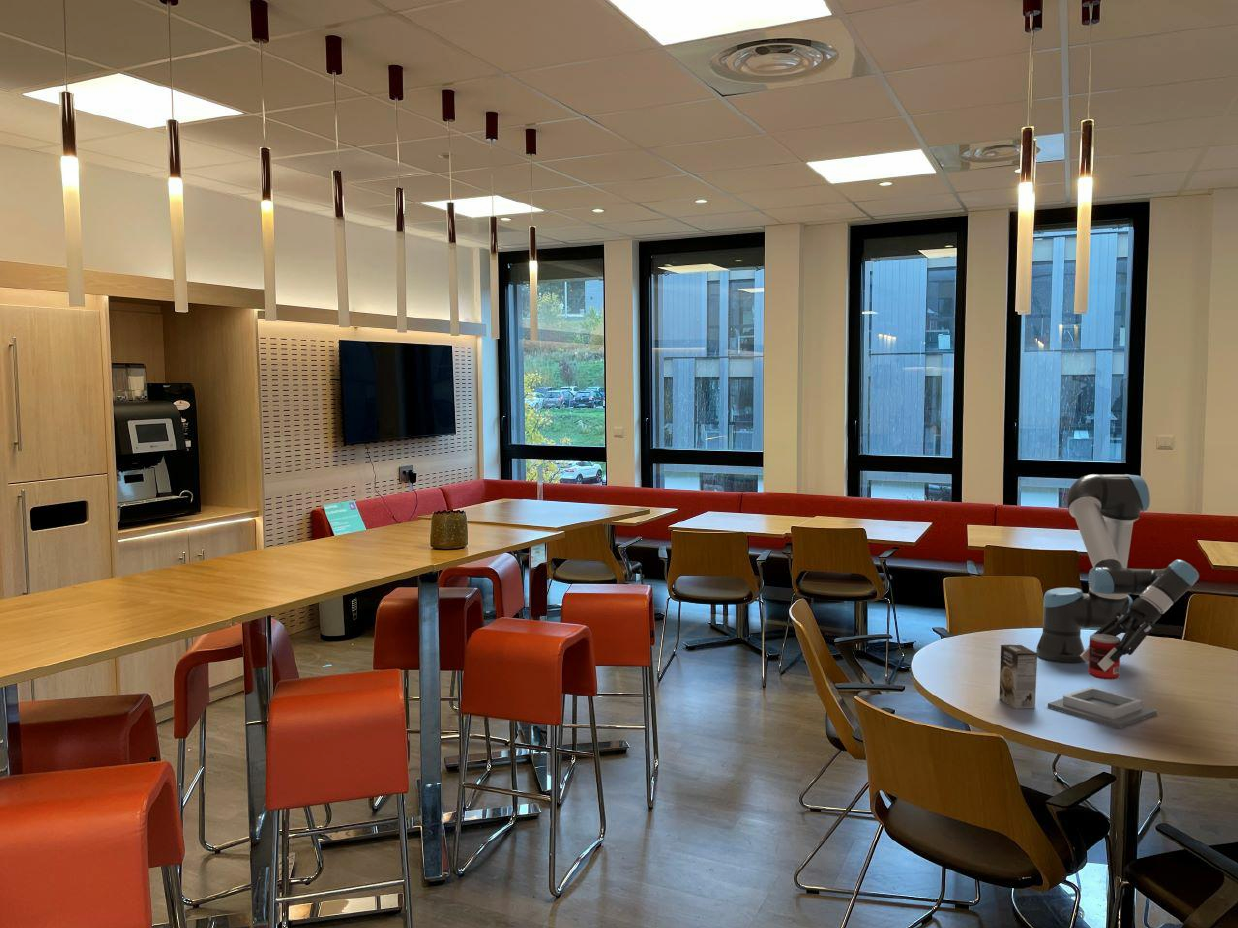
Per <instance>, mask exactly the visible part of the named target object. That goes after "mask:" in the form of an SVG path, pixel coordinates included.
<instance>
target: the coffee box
mask: <svg viewBox="0 0 1238 928" xmlns="http://www.w3.org/2000/svg"><path fill="white" fill-rule="evenodd" d="M1037 666H1038V656H1037V653H1036V651H1034V650H1031V649H1030V648H1027V647H1026V646H1024V645H1022V644H1001V645H1000V671H999V676H1000V677H999V699H1000V700H1001V699H1002V701H1003V702H1004V701H1005V702H1004V703H1006V704H1007V703H1008V705H1009V706H1011V708H1013V707H1014V708H1013V709H1035V708H1036V693H1037V692H1036V689H1037V688H1036V685H1037V670H1038V669H1037V668H1038V667H1037Z"/></svg>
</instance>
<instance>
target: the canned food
mask: <svg viewBox="0 0 1238 928" xmlns="http://www.w3.org/2000/svg"><path fill="white" fill-rule="evenodd" d="M1120 641H1121V638H1120V637H1118V636H1112V635H1106V634H1094V633H1093V634H1090V635H1089V645H1088V646H1089V662H1088V674H1089V676H1091V677H1093V678H1096V679H1099V680H1105V681H1106V680H1107V681H1108V680H1109V681H1113V680H1118V679H1119V677H1120V667H1121V666H1120V664H1121V657H1120V658H1119V659H1118V660H1117V661H1116V662H1115V663H1114V664H1112V665H1111V666H1110V667H1109V668H1108V669H1107V670H1106V671H1104V670H1103V669H1102V668H1101V667H1100V666H1099V665H1098V663H1099V662H1100V661H1101V660H1102V659H1103V658H1104V657H1105V656H1106V655H1107V654H1108V653H1109V652H1110V651H1111V650H1112V649H1113V648H1116V647H1115V646H1116V645H1119V643H1120ZM1116 649H1117V648H1116Z"/></svg>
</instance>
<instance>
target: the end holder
mask: <svg viewBox="0 0 1238 928" xmlns="http://www.w3.org/2000/svg"><path fill="white" fill-rule="evenodd" d="M1142 701H1143V700H1141V699H1137V698H1134V697H1130V696H1126V695H1122V694H1118V693H1114V692H1111V691H1108V690H1103V689H1099V688H1096V687H1092V686H1090V687H1087V688H1084V689H1080V690H1076V691H1074V692H1070V693H1066V694H1064V695H1062V698H1060V699H1058V700H1054V701H1050V702H1048V703H1047V708H1048V709H1051V708H1053V709H1052V710H1054V709H1056V710H1055V711H1058V710H1060V711H1059V712H1061V711H1063V712H1062V713H1064V712H1066V713H1065V714H1068V713H1069V715H1071V714H1072V715H1071V716H1074V715H1076V717H1078V716H1079V717H1078V718H1081V717H1082V718H1081V719H1084V718H1086V719H1085V720H1088V721H1091V722H1094V723H1099V724H1101V725H1105V726H1109V727H1110V728H1115V729H1118V730H1119V729H1121V728H1124V727H1127V726H1131V725H1133V724H1135V723H1138V722H1141V721H1143V720H1146V719H1149V718H1152V717H1154V716H1157V715H1158V710H1157V709H1154V708H1149V707H1146V706H1143V705H1142V703H1143V702H1142Z"/></svg>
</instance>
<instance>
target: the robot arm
mask: <svg viewBox="0 0 1238 928" xmlns="http://www.w3.org/2000/svg"><path fill="white" fill-rule="evenodd" d="M1066 495H1067V496H1066V508H1067V510H1068V512H1069V514H1070V516H1071V517H1072V518H1074V519H1075V522H1076V524H1077V527H1078V531H1079V533H1080V535H1081V536H1080V537H1081V538H1082V541H1083V544H1084V546H1085V549H1086V552H1087V555H1088V557H1089V558H1088V559H1089V561H1090V563H1091V566H1092V568H1091V569H1090V570H1089V573H1088V585H1089V588H1088V593H1086V592H1083V591H1082V589H1081V588H1077V587H1056V588H1052V589H1048V590H1047V591H1045V593H1044V596H1043V602H1042V603H1043V604H1042V606H1043V609H1042V615H1043V616H1042V633H1041V635H1040V639H1039V640H1038V643H1037V646H1036V647H1035V648H1036V649H1035V653H1037V657H1039V658H1041V659H1044V660H1047V661H1051V662H1057V663H1066V664H1069V663H1070V664H1072V663H1073V664H1076V663H1077V664H1078V663H1082V662H1085V663H1088V664H1089V645H1088V647H1086V649H1085V648H1084V644H1083V641H1082V638H1081V630H1082V629H1097V630H1096V631H1095V632H1093V634H1106V635H1112V636H1116V637H1118V636H1119V635H1120V634H1124V635H1123V636H1122V638H1121V639H1120V643H1119V645H1116V646H1115V647H1116V648H1117V649H1116V648H1113V649H1112V650H1111V651H1110V652H1109V653H1108V654H1107V655H1106V656H1105V657H1104V658H1103V659H1102V660H1101V661H1100V662H1099V663H1098V665H1099V666H1100V667H1101V668H1102V669H1103V670H1104V671H1106V670H1107V669H1108V668H1109V667H1110V666H1111V665H1112V664H1114V663H1115V662H1116V661H1117V660H1118V659H1119V658H1120V659H1121V658H1122V656H1125V655H1129V656H1131V655H1133V654H1134V652H1135V651H1136V650H1137V649H1138V648H1139V646H1140V645H1141V643H1142V642H1143V641H1145V639H1146V637H1147V636H1148V635H1149V634H1150V633H1151V632H1153V631H1154V628H1153V627H1152V625H1154V624H1155V623H1156V622H1157V621H1158V620H1159V619H1160V618H1161V617H1162V615H1164V614H1165V613H1166V612H1168V610H1169V609H1170V608H1171V606H1173V605H1174V604H1175V603H1176V602H1177V601H1178V600H1179V599H1180V598H1181V597H1182V596H1184V594H1186V592H1188V590H1189V589H1191V587H1193V586H1194V584H1195V583H1196V582H1197V581H1198V580H1199V579H1200V574H1199V572H1198V571H1197V569H1196V568H1195V567H1194V566H1192V564H1190V563H1188V562H1186V561H1185V560H1183V559H1175V560H1173V561H1172V562H1171V563H1170V564H1168V566H1167V567H1166V568H1161V569H1157V568H1156V569H1155V568H1153V569H1152V568H1128V561H1129V555H1130V548H1131V541H1132V533H1133V527H1134V522H1136V521H1138V520H1139V519H1140V516H1141V513H1142V512H1146V511H1148V509H1149V507H1150V504H1151V502H1150V501H1151V496H1150V490H1149V488H1148V484H1147V482H1146V480H1145V479H1144V478H1143V477H1142V476H1140V475H1136V474H1127V473H1125V474H1098V473H1096V474H1095V473H1093V474H1092V473H1091V474H1087V475H1084V476H1081V477H1079V478H1078V479H1077V480H1075V481H1074V482H1073V484H1072V485H1071V487H1070V488H1069V490H1068V492H1067V494H1066ZM1130 595H1137V596H1139V597H1136V598H1135V599H1134V600H1133V598H1132V597H1131V596H1130Z"/></svg>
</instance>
